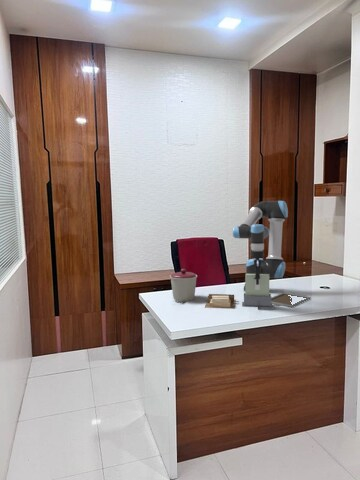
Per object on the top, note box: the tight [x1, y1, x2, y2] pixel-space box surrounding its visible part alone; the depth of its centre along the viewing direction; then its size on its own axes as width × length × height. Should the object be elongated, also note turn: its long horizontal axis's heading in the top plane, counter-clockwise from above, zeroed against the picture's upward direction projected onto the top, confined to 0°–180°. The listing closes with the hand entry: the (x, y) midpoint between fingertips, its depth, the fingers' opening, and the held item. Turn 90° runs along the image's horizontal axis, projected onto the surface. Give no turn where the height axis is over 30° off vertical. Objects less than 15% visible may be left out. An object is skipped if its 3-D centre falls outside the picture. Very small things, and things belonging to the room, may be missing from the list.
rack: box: [204, 293, 237, 310], centre depth 218 cm, size 20×18×6 cm
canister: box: [169, 268, 198, 303], centre depth 231 cm, size 18×18×21 cm
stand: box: [241, 292, 274, 311], centre depth 214 cm, size 10×18×8 cm, turn 80°
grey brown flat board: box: [271, 292, 312, 308], centre depth 227 cm, size 19×2×30 cm
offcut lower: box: [210, 299, 231, 307], centre depth 214 cm, size 8×12×2 cm, turn 80°
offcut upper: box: [212, 296, 229, 303], centre depth 214 cm, size 7×10×2 cm
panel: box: [244, 273, 270, 296], centre depth 213 cm, size 2×14×16 cm, turn 80°
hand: (257, 289), depth 213 cm, fingers closed on panel, 2 cm apart
